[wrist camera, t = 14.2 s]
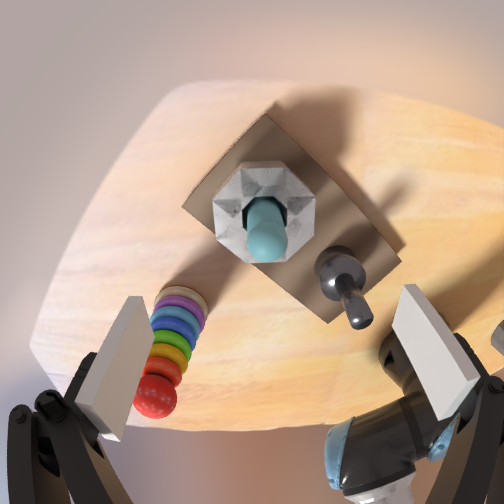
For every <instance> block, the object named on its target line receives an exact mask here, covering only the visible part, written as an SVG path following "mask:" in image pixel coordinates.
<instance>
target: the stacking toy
mask: <svg viewBox="0 0 504 504" xmlns="http://www.w3.org/2000/svg"><path fill="white" fill-rule="evenodd" d="M207 316H208V308H207V305H206V302H205V301H204V299H203V298H202V297H201V296H200V295H199V294H198V293H197V292H195V291H193V290H191V289H189V288H186V287H181V286H173V287H168V288H166V289H164V290H162V291H161V292H160V293H159V294H158V295H157V297H156V299H155V302H154V310H153V314H152V316H151V318H150V324H151V327H152V330H153V333H154V336H155V338H154V341H153V344H152V347H151V350H150V352H149V355H148V358H147V361H146V364H145V367H144V369H143V372H142V375H141V378H140V381H139V384H138V387H137V390H136V393H135V397H134V400H133V405H134V406H135V408H136V409H137V410H138V411H139V412H140V413H141V414H142V415H144V416H146V417H149V418H153V419H159V418H163V417H166V416H168V415H169V414H170V413H171V412H172V411H173V410H174V408H175V406H176V403H177V394H176V391H175V387H177V386H178V385H179V384H180V382H181V380H182V375H183V374H184V373H185V372H186V370H187V367H188V362H189V360H190V358H191V354H192V353H191V352H192V351H193V350H194V348H195V345H196V341H197V339H198V337H199V334H200V333H201V332H202V330H203V329H204V326H205V321H206V319H207Z"/></svg>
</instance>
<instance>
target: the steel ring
mask: <svg viewBox="0 0 504 504" xmlns="http://www.w3.org/2000/svg"><path fill="white" fill-rule="evenodd" d="M262 196H274V197H275V198H276V199H277V200H279V201H280V202H281V203H282V204H283V212H282V213H281V216H282V220H283V223H284V227H285V230H286V234H287V237H288V246H287V249H286V251H285V253H284V254H283V256H282V257H280V258H279V259H278V260H276V261H273V262H286V261H287V260H288V259H289V258H290V257H291V256H292V255H293V254H294V253H296V252H297V251H298V250H299V249H300V248H301V247H302V246H303V245H304V244H305V243H306V242H307V241H308V240H310V239H311V238H312V237H313V236H314V220H315V195H314V194H313V193H312V191H311V190H310V189H309V187H308V186H307V185H306V184H305V183H304V182H303V181H302V180H301V179H300V178H299V177H297V176H296V175H295V174H294V173H293V172H292V171H291V170H290V169H289V168H288V167H287V166H286V165H285V164H284V163H283V162H282V161H281V160H280V161H249V162H242V163H241V164H240V165H239V166H238V167H237V168H236V169H235V170H234V171H233V172H232V173H231V175H230V176H229V177H228V178H227V179H226V180H225V181H224V182H223V183H222V184H221V186H220V187H219V188H218V189H217V191H216V193H215V195H214V197H213V200H212V202H213V213H214V223H215V233H216V240H218V241H219V242H220V243H221V244H223V245H224V246H225V247H226V248H228V249H229V250H230V251H231V252H233V253H234V254H235V255H236V256H238V257H239V258H240V259H241V260H243V261H244V262H245V263H246V264H247V263H269V262H262V261H259V260H257V259H256V258H254V257H253V256H252V255H251V253H250V252H249V250H248V247H247V215H245V214H244V210H243V208H244V207H245V206H246V205H247V204H248V203H249V202H250V201H251V200H252V199H253V198H254V197H262Z"/></svg>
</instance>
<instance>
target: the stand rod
mask: <svg viewBox="0 0 504 504" xmlns="http://www.w3.org/2000/svg"><path fill="white" fill-rule="evenodd" d="M314 269H315V273H316V276H317V279H318V282H319V284H320V287H321V290H322V292H323V294H324V295H325V296H326V297H327V298H328V299H330V300H333V301H341V302H342V304H343V307H344V309H345V312H346V314H347V316H348V319H349V321H350V324H351V326H352V327H353V328H354V329H357V330H360V329H364V328H366V327H368V326H369V325H370V324H371V323H372V321H373V318H374V316H373V314H372V312H371V310H370V308H369V306H368V304H367V302H366V300H365V298H364V296H363V295H362V293H361V290H362V289H363V287H364V285H365V282H366V272H365V270H364V268H363V267H362V265H361V264H360V262H359V260H358V259H357V257H356V256H355V254H354V253H353V252H352V250H351V249H349V248H348V247H345V246H341V245H335V246H331V247H328V248H326V249H325V250H323V251H322V252H321V253H320V254H319V256H318V257H317V259H316V261H315V265H314Z"/></svg>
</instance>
